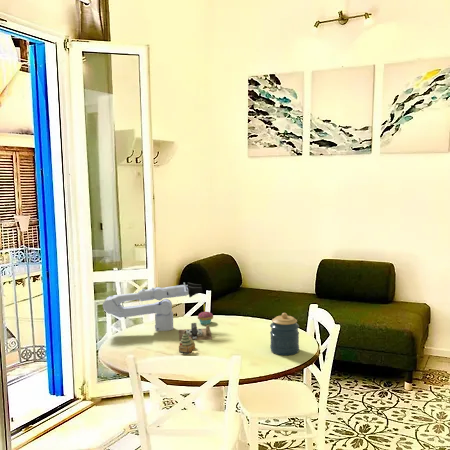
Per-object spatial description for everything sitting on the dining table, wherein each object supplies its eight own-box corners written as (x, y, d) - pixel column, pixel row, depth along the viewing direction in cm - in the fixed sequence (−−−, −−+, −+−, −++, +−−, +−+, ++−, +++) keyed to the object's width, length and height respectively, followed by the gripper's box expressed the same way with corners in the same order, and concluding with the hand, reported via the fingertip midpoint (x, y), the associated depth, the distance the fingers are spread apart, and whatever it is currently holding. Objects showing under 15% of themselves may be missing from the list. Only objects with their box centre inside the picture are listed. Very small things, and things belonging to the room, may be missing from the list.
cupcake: (195, 323, 264) (195, 302, 263) (209, 321, 267) (209, 300, 266) (201, 327, 256) (201, 305, 255) (216, 325, 260) (215, 303, 259)
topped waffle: (185, 347, 226) (184, 327, 225) (197, 349, 224) (196, 328, 223) (177, 353, 218) (176, 332, 218) (189, 355, 216) (189, 333, 215)
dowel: (206, 335, 240) (206, 326, 240) (206, 334, 242) (206, 325, 242) (209, 335, 241) (209, 326, 240) (209, 334, 242) (209, 325, 242)
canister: (280, 344, 229) (280, 307, 227) (304, 349, 220) (304, 312, 219) (264, 351, 219) (264, 313, 217) (289, 358, 210) (289, 318, 209)
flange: (185, 331, 246) (185, 321, 245) (201, 331, 247) (201, 320, 246) (186, 339, 234) (186, 328, 233) (203, 338, 234) (202, 327, 234)
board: (179, 343, 233) (179, 341, 233) (179, 331, 250) (178, 329, 250) (212, 341, 234) (212, 339, 234) (209, 330, 252) (209, 328, 252)
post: (191, 335, 241) (191, 324, 240) (191, 333, 243) (191, 323, 243) (196, 335, 241) (196, 324, 241) (196, 333, 244) (196, 322, 243)
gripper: (175, 286, 244) (201, 283, 245) (175, 281, 258) (200, 277, 260) (176, 300, 245) (203, 297, 246) (176, 293, 259) (201, 290, 260)
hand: (202, 288), depth 253 cm, fingers open, 7 cm apart
